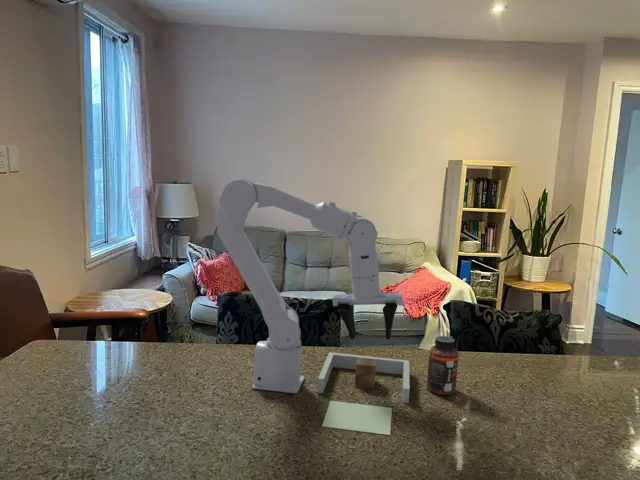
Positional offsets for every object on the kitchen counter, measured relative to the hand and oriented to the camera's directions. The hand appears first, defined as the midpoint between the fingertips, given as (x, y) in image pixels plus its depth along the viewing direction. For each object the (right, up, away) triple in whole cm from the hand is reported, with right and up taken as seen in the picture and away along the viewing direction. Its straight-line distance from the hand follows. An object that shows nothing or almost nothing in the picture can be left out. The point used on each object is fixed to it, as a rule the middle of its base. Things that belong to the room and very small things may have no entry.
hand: (370, 337), depth 103 cm
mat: (-4, -12, -13) cm, 18 cm away
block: (-1, -10, +2) cm, 11 cm away
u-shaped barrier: (-1, -10, +2) cm, 10 cm away
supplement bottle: (+15, -11, 0) cm, 19 cm away
